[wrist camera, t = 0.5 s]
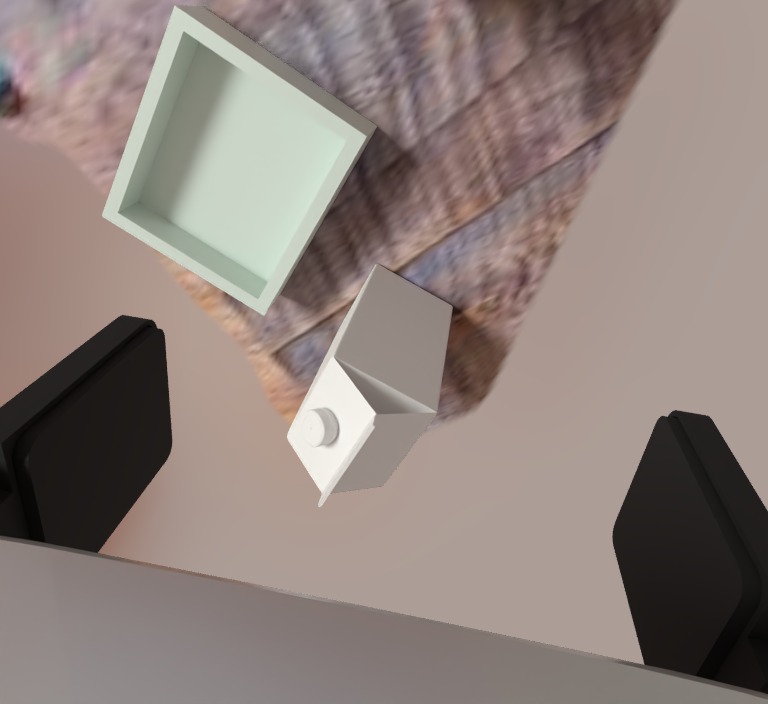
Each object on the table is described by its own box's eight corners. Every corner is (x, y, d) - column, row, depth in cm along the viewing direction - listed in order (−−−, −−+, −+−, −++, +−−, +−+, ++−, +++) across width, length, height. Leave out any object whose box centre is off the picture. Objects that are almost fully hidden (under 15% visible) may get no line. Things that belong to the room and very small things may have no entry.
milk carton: (453, 304, 48) (432, 456, 31) (411, 368, 51) (371, 533, 35) (376, 261, 47) (313, 393, 31) (338, 328, 51) (264, 479, 34)
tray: (202, 5, 40) (174, 5, 36) (377, 126, 42) (366, 136, 38) (129, 201, 48) (101, 216, 44) (280, 294, 50) (264, 315, 46)
